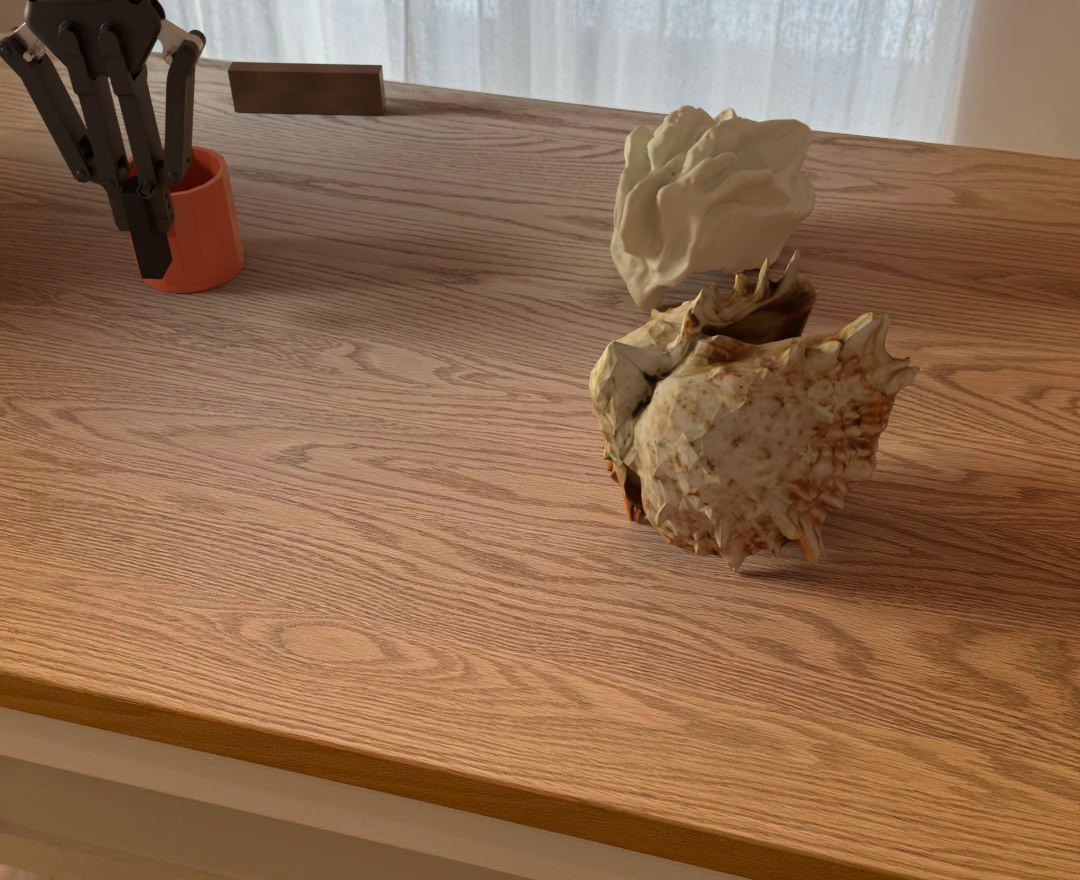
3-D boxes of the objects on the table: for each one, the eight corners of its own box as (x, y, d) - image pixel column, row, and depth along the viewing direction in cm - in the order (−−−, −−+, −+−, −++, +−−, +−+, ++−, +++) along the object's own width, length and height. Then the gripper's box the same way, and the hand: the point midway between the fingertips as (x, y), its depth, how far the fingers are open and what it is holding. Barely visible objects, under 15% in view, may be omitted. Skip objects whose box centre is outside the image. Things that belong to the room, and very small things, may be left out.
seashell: (974, 271, 61) (813, 181, 73) (645, 365, 57) (530, 253, 69) (944, 558, 72) (807, 439, 83) (664, 655, 67) (561, 516, 79)
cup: (126, 291, 94) (100, 195, 88) (155, 237, 100) (133, 143, 94) (230, 295, 94) (211, 198, 88) (254, 240, 99) (237, 146, 94)
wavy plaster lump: (692, 303, 105) (725, 111, 100) (817, 331, 96) (860, 121, 91) (533, 293, 93) (564, 73, 88) (660, 323, 84) (700, 81, 79)
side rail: (234, 112, 116) (227, 70, 114) (239, 103, 118) (232, 61, 115) (383, 115, 116) (379, 73, 113) (386, 106, 117) (382, 64, 114)
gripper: (-65, -64, 70) (50, 294, 87) (162, -60, 70) (234, 300, 86) (-14, -105, 76) (85, 239, 92) (196, -102, 75) (258, 244, 91)
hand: (157, 268), depth 89 cm, fingers closed
